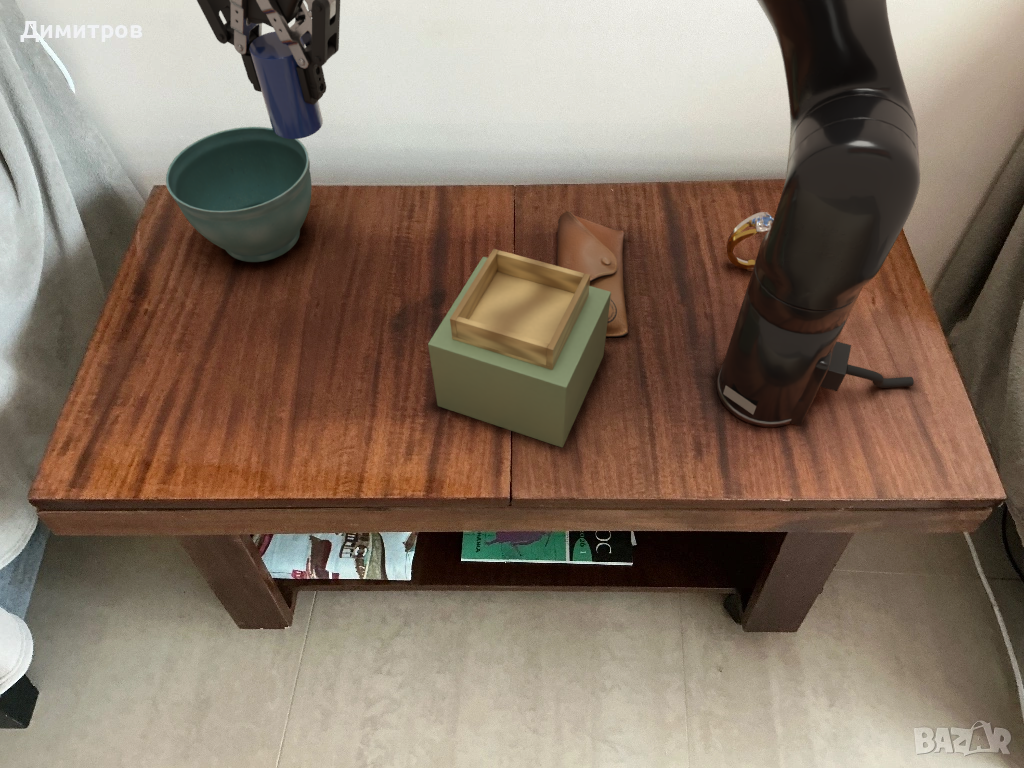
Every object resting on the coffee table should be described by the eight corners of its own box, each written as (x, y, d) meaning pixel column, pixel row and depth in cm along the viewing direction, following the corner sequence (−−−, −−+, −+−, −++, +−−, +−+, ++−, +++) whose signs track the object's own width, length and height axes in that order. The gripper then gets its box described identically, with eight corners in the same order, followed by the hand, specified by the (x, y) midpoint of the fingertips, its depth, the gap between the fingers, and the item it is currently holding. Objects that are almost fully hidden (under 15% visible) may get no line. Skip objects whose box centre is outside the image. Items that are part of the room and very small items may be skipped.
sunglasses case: (633, 335, 86) (606, 298, 82) (577, 355, 89) (548, 320, 85) (624, 227, 97) (600, 190, 93) (575, 248, 100) (549, 213, 96)
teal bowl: (241, 186, 104) (215, 115, 96) (349, 211, 101) (332, 139, 92) (171, 266, 95) (136, 194, 87) (287, 296, 92) (262, 224, 83)
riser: (603, 355, 85) (611, 291, 77) (562, 448, 78) (566, 387, 70) (486, 320, 89) (483, 256, 81) (437, 406, 81) (427, 344, 74)
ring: (721, 276, 92) (736, 224, 86) (719, 258, 94) (733, 206, 88) (781, 279, 92) (800, 227, 86) (777, 260, 94) (795, 208, 88)
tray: (588, 296, 77) (590, 274, 75) (552, 370, 71) (553, 349, 69) (494, 269, 80) (493, 248, 77) (452, 339, 74) (449, 318, 72)
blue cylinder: (332, 116, 75) (314, 36, 69) (306, 143, 73) (285, 63, 66) (290, 105, 76) (268, 26, 70) (262, 132, 74) (238, 52, 67)
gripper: (126, -107, 58) (201, 99, 72) (290, -78, 55) (336, 132, 68) (188, -142, 62) (248, 58, 76) (343, -118, 59) (377, 88, 72)
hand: (289, 92), depth 72 cm, fingers closed on blue cylinder, 4 cm apart
